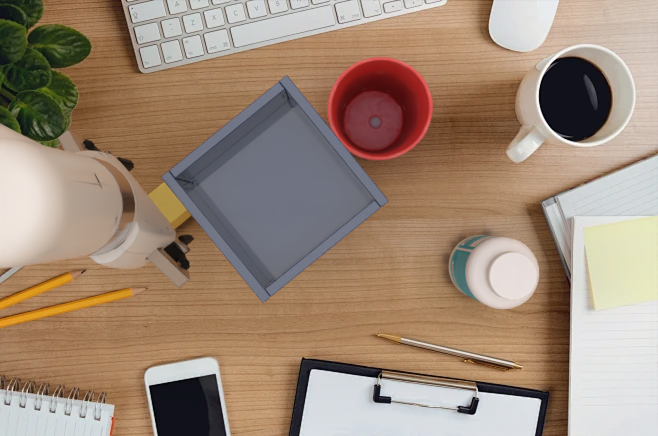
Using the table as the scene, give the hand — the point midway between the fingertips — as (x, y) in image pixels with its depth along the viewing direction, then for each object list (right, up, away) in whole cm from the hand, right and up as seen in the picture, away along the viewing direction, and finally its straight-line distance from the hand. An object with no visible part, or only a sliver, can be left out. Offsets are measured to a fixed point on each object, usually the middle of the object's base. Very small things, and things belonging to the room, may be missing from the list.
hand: (151, 209), depth 63 cm
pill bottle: (+36, -6, +10) cm, 38 cm away
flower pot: (+23, +10, +10) cm, 28 cm away
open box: (+14, +1, -10) cm, 17 cm away
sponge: (0, 0, +10) cm, 10 cm away
